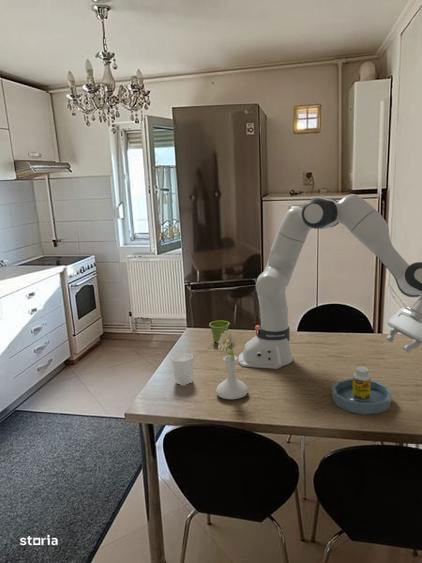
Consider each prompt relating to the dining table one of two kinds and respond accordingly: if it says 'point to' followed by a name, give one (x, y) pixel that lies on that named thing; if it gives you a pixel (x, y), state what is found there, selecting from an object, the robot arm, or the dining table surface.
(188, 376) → the white cup
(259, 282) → the robot arm
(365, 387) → the supplement bottle
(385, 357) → the dining table surface
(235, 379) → the flower in vase
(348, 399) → the slate dish
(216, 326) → the plant pot
